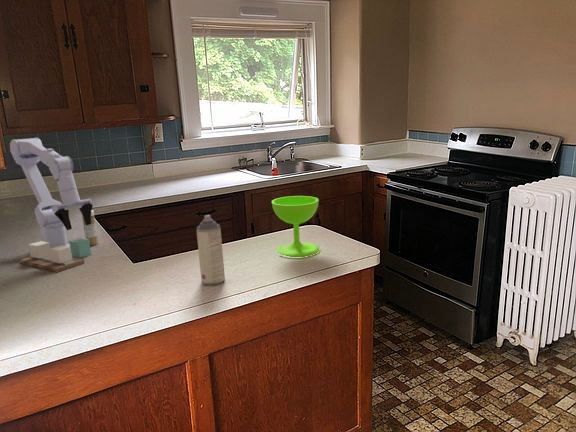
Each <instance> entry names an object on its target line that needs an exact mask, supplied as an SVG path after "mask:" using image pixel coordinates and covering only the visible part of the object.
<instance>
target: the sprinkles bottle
mask: <svg viewBox="0 0 576 432" xmlns="http://www.w3.org/2000/svg"><path fill="white" fill-rule="evenodd" d="M80 215H81V219H82V224H83V232H84V238H87V239H89V243H90V246H95V245H98V244H99V241H98V232H97V226H96V220H95V211H94V210H93V209H92V211H91V225H87V226H86V224H85V221H84V218H83V215H82V213H81V212H80Z"/></svg>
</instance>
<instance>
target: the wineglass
mask: <svg viewBox="0 0 576 432" xmlns="http://www.w3.org/2000/svg"><path fill="white" fill-rule="evenodd" d="M319 201H320V200H319V198H318V197H314V196H310V195H308V196H307V195H292V196H291V195H289V196H282V197H279V198H278V197H277V198H275V199H273V200H271V205H272V206H271V207H272V210H273V212H274V213H275V215H276V217H278V218H279V220H281V221H283V222H284V223H287V224H290V225H293V226H292V227H293V242H288V243H283V244H284V245H285V244H291V243H293V244H292V245H290V246H287V247H285V248H283V249H281V247H282V246H284V245H283V244H282V245H281V246H280V245H279V246H277V247H278V248H277V247H276V248H277V251H278V253H280V254H282V255H286V256H290V257H305V256H310V255H313V254H316V253H317V252H318V251H319V248H320V246H318V245H316V244H315V243H311V242H306V241H305V242H303V241H300V225H301V224H304V223H306V222H307V221H309V220H310V219H311V218H312V217H314V215H315V214H316V212H317V210H318V207H319ZM302 243H305V244H306V245H305V244H304V245H303V244H302Z"/></svg>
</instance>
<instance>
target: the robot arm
mask: <svg viewBox="0 0 576 432" xmlns="http://www.w3.org/2000/svg"><path fill="white" fill-rule="evenodd" d="M9 149H10V150H9V151H10V153H11V156H12V158H13V160H14V161H15V164H17V165H19V166H21V168H22V170H23V171H22V172H23V173H24V176H25V177H26V179H27V181H28V183H29V187H31V190H32V192H33V194H34V196H35V198H36V200H37V203H38V204H37V206H36V207H35V209H34V215H35V219H36V222H37V224H38V225H39V226H40V229H39V237H40V241H44V242H49V244H50V248H54V247H57V246H60V245H64V246H69V247H70V243H68V240H67V233H66V230H67V231H69V230H72V228H73V227H72V222H71V221H70V212H69V209H73V208H78V207H79V208H78V209H79V211H80V214H81V213H82V215H83V218H84V221H85V224H86V226H87V225H91V211H92V210H93V207H94V206H93V200H92V198H86V199H81V198H80V194H79V191H78V188H77V185H76V180H75V177H74V174H73V171H74V167H75V166H74V162H73V160H72V158H71V157H70V156H68V155H65V156H63V155H61V154H59V153H58V152H56V151H55V150H54V148H46V147H44V145H43V143H42V140H41V139H40V138H38V137H34V138H32V137H31V138H21V139H20V138H19V139H14V138H13V139H11V141H10V143H9ZM39 162H42V163H43V164H44V165H46V166H47V167H49V168H48V169H49V171H50V173H51V174H52V177H53V179H54V180H55V181H56V184H57V186H58V187H57V188H58V190H59V194H60V199H61V201H59V200H56V199H53V197H52V194H51V193H50V191H49V188H48V186H47V184H46V183H45V180H44V179H43V176H42V173H41V172H40V170H39V168H38V165H37V164H38V163H39ZM82 215H81V216H82Z"/></svg>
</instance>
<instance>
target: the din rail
mask: <svg viewBox="0 0 576 432" xmlns="http://www.w3.org/2000/svg"><path fill="white" fill-rule="evenodd" d="M29 257H31V254H30V255H29ZM31 258H35V257H31ZM36 259H40V260H44V261H48V262H52V261H51V255H49V256H46V257H42V258H36ZM53 263H56V262H53ZM71 263H74V260H69V261H66V262H63V263H57V264H61V265H68V264H71Z"/></svg>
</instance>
